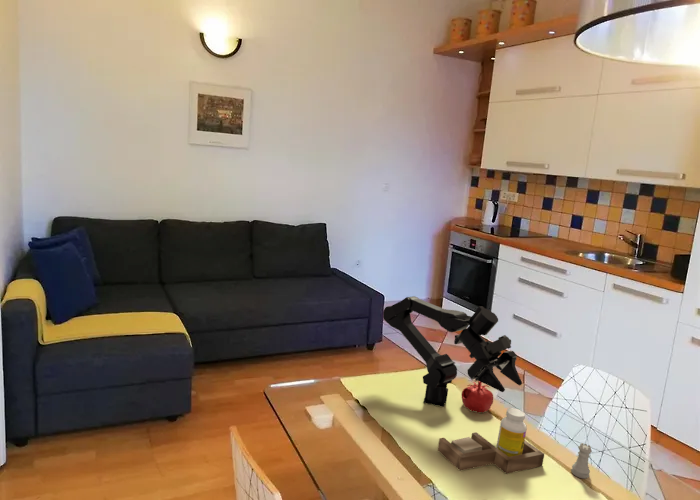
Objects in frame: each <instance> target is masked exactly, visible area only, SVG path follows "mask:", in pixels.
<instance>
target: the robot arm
mask: <svg viewBox="0 0 700 500" xmlns="http://www.w3.org/2000/svg"><path fill="white" fill-rule="evenodd" d="M413 312H414V313H417V314H419V315H422V316H424V317H426V318H428V319H431V320H432V321H435V322H437V323H438V324H439V326H440V327H441V328H442V329H444V330H445V331H447V332H449V333H456V332H460V333H459V334H456V335H454V341H453V343H454V345H459V344H462V345H463V346H464V347H465V349H466V350H468V352H469V353H470V354H469V355H468V357H470V359H475V361H474V362H472V364H471V365H470V366H469V368H468V369H467V376H468V377H469V378H470V379H471V381H473V380H475V381H476V382H478V381H480V382H482V384H484V385H487V386H489V387H491V388H493V389H495V390H497V391H499V392H501V393H504V392H505V391H506V389H505V387H504V386H503V383H501V381H500V380H499V378H498V377H497V376H496V374H495V373H494V368H495V367H496V369H498V370H500V371H499V372H500V373H501V374H502V375H503V376H505V378H508V379H509V380H510V381H512V382H514V383H515V384H516V385H518V386H522V384H523V382H522V379H521V377H520V375H519V372H518V371H517V368H516V361H517V357H518V355H517V353H515V351H514V350H506V349H511V348H512V346H511V345H512V340H511V338H509V336H507V335H506V334H504V335H501V336H499V337H498V339H496V340H495V341H491V340H486V339H484V337H482V336H487V335H488V334H489V333H490V332H491V330H492V329H493V328H494V327H495V326H496V325H497V323H498V322H499V318H498V315H497V314H495V312H492V311H491V310H489V309H487V308H485V306H478V307H477V308H476V310H475V312H474V313H473V315H471V316H470V315H468V314H467V313H466V312H464V311H460V310H456V309H447V308H446V309H445V308H443V307H440V306H438V305H435V304H433V303H431V302H427V301H425V300H423V299H420V298H419V297H417V296H416V295H413V296H406V297H405V298H403V299H402V300H400V301H398V302H396V303H394V304H392V305H388V306H386V307H384V310H383V312H382V313H383V315H382V318H383V320H384V322H386V323H387V324H388V326H390V327H392V329H393V328H394V329H396V330H397V331H399V332H400V333H401V334H402V335H403V336H404V338H405V339H406V340H407V341H408V343H409V344H410V345H411V347H413V349H414V350H415V351H416V353H417V354H418V355H419V356H420V358H422V360H423V361H424V362H425V364H426V371H427V373H426V374H425V375H422V382H423V384H424V385H426V388H425V395H424V398H423V403H424V404H428V405H433V406H436V407H437V406H438V407H442V408H444V407H445V404H447V399H448V395H449V394H448V393H449V388H448V384H451V383H452V381H453V380H455V379H456V378H457V374H458V367H457V365H456V362H455V361H453V359H451V357H450V355H449V354H447V353H445V354H441V353H439V352H438V351H437V350H436V349H435V348H434V346H432V344H430V342H429V340H427V339H426V337H425V336H424V335H423V334H422V333H421V331H419V329H418V328H417V326H415V324H414V323H413V322H412V317H411V314H412V313H413ZM505 350H506V351H505ZM502 351H503V352H502Z"/></svg>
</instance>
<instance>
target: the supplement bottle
mask: <svg viewBox="0 0 700 500" xmlns="http://www.w3.org/2000/svg"><path fill="white" fill-rule="evenodd" d="M505 415H506V416H505V417H503V418H502V419H501V420H500V425H499V430H498V435H497V441H496V442H497V443H496V445H495V447H496V448H498V449H499V450H500V451H502V452H503V453H504V454H506V455H507V456H508V457H511V456H516V455H521V454H522V452H523V447H524V441H526V435H527V429H528V428H527V425H526V423H525V422H524V420H525V419H526V413H525V412H524V411H523V410H520V409H518V408H512V407H511V408H507V409H506V413H505Z"/></svg>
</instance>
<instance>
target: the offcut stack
mask: <svg viewBox="0 0 700 500" xmlns="http://www.w3.org/2000/svg"><path fill="white" fill-rule="evenodd" d="M450 443H451V444H452V445H453V446H455V447H456V448H457V449H458V450H459V451H460V452H462V453H463V454H464V453H470V452H475V451H481V450H482V446H481V445H480V444H478V443H477V442H476V441H474V440H473V439H471V437H470V436H466V437H462V438H458V439H453V440H451V442H450Z"/></svg>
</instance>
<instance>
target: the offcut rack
mask: <svg viewBox="0 0 700 500" xmlns="http://www.w3.org/2000/svg"><path fill="white" fill-rule="evenodd" d="M470 438H471V439H473V440H474V441H476V442H477V443H478V444H480V445H481V446H482V450H481V451H475V452H470V453H464V454H463V453H462V452H460V451H459V450H458V449H457V448H456V447H455V446H453V445H452V444H451V442H450V441H449V440H447V439H446V438H445V437H439V439H438V444H437V445H438V447H437V451H438V453H439V454H441V455H442V456H443V457H444V458H446V460H448V462H450V463H451V464H452V465H453V466H454V467H455V468H456V469H457V470H459V471H466V470H470V469H476V468H479V467H480V468H481V467H485V466H491V465H494V466H495V467H497V468H498V469H499V470H501V471H502V472H503V473H504V474H505V475H507V474H512V473H517V472H522V471H526V470H531V469H534V468H535V469H536V468H540V467H543V464H544V463H543V462H544V460H545V459H544V458H545V453H544V452H543V451H542V450H540V449H538V447H536V446H534V445H533V444H531V443H530V442H528V441H526V440H525V441H524V447H523V452H522V454H521V455H516V456H511V457H508V456H507V455H506V454H504V453H503V452H502V451H500V450H499V449H498V448H496V445H494V444H492V443H491V442H490V441H489V440H487V439H486V438H485V437H483V436H482V435H480V434H479V433H478V432H472V433H471V437H470Z"/></svg>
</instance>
